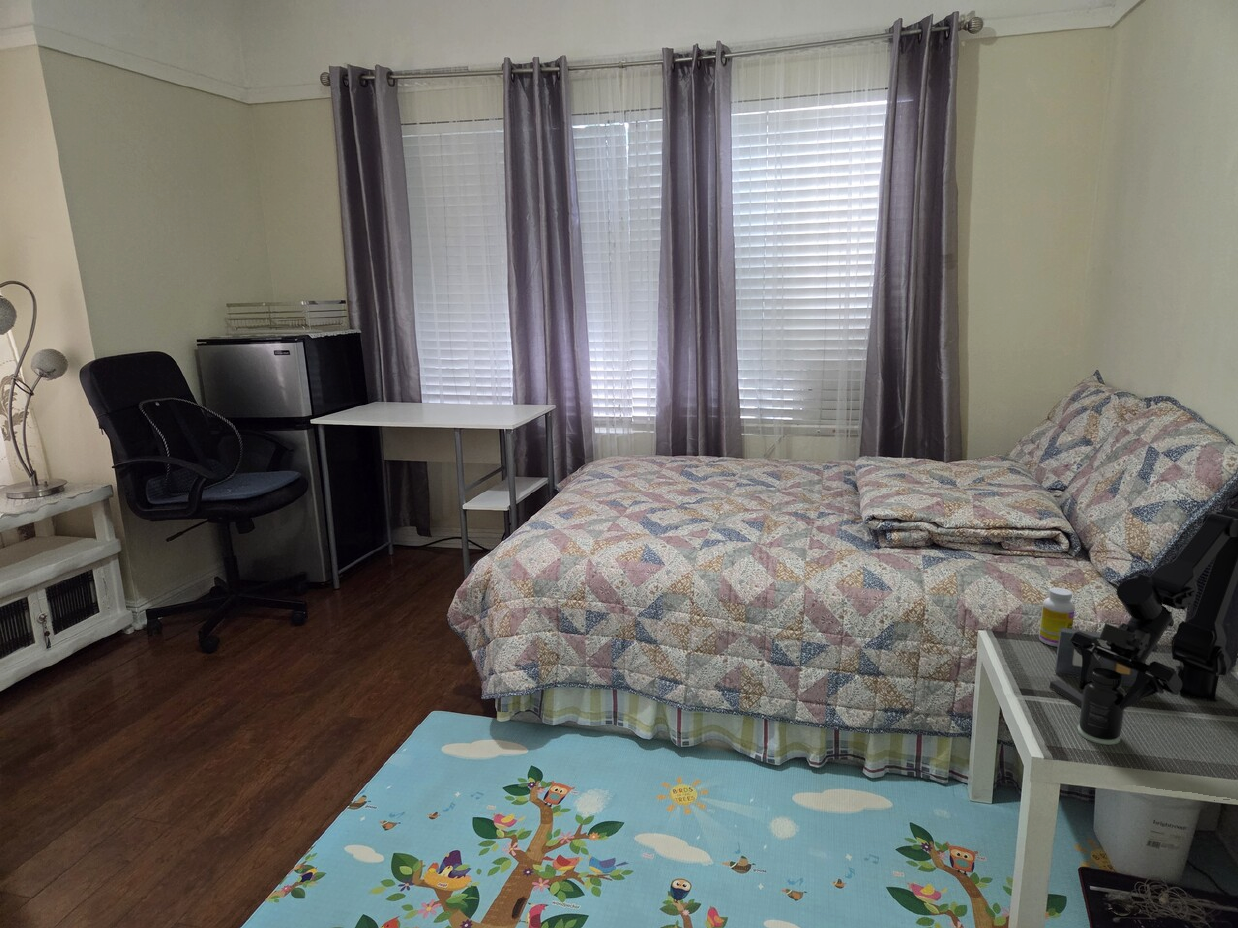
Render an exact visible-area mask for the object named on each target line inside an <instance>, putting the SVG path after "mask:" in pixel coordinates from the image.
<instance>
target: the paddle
mask: <svg viewBox="0 0 1238 928" xmlns="http://www.w3.org/2000/svg"><path fill="white" fill-rule="evenodd" d="M1072 663H1073V665H1074V666H1080V667H1082V656H1081V655H1080V654H1078V653H1077V651H1076V650H1075V649H1074V654H1073V662H1072Z"/></svg>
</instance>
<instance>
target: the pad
mask: <svg viewBox="0 0 1238 928" xmlns="http://www.w3.org/2000/svg"><path fill="white" fill-rule="evenodd" d="M1077 732H1078V734H1079V735H1080V736H1081V737H1082V738H1084V739H1086V740H1088V741H1090V742H1091V743H1092V742H1093V743H1096V744H1098V745H1105V746H1113V745H1117V744H1119V743H1120V742H1121V737H1122V736H1121V735H1120V736H1119V737H1118V738H1117V739H1113V740H1104V739H1099V738H1095V737H1092V736H1090V735H1088V734H1086V733H1085V732H1084V731H1083V730H1082V729H1081V728H1080V723H1079V724H1078V725H1077Z"/></svg>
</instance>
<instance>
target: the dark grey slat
mask: <svg viewBox="0 0 1238 928" xmlns="http://www.w3.org/2000/svg"><path fill="white" fill-rule="evenodd" d="M1049 683H1050V684H1049V688H1050V689H1051V688H1052V689H1051V690H1053V689H1054V690H1055V692H1056V691H1057V692H1059V693H1060V694H1062V695H1063V696H1062V695H1061V696H1062V697H1064V698H1065V697H1066V698H1065V699H1067V698H1068V699H1069V700H1068V699H1067V700H1068V701H1070V702H1071V701H1072V703H1073V704H1074V703H1075V704H1074V705H1076V706H1077V707H1079V708H1081V706H1082V698H1083V693H1080V691H1078V690H1076V689H1074V688H1073V687H1071V686H1069V685H1068V684H1066V683H1065V682H1063V681H1061V680H1058V679H1057V680H1050V682H1049ZM1054 690H1053V691H1054ZM1057 692H1056V693H1057ZM1059 693H1058V694H1059ZM1060 694H1059V695H1060Z"/></svg>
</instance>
